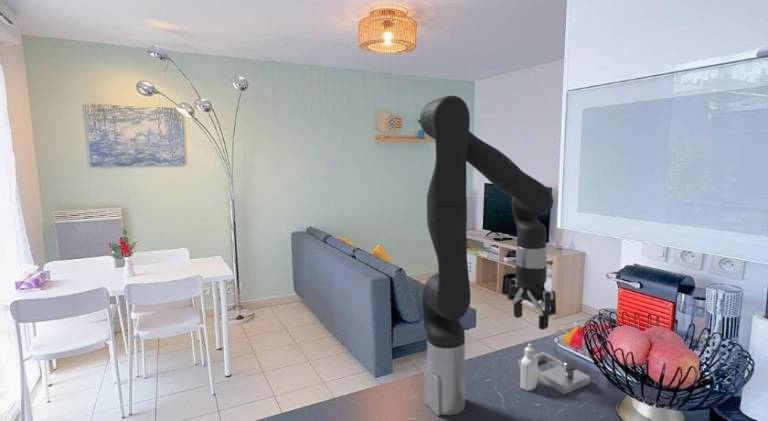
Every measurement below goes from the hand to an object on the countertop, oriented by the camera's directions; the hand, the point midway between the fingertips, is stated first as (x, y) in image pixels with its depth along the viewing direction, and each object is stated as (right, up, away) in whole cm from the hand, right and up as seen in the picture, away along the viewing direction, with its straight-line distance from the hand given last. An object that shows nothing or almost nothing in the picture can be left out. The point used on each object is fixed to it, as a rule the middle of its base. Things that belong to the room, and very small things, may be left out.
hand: (530, 322), depth 107 cm
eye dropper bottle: (+1, -18, +3) cm, 18 cm away
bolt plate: (+9, -17, +8) cm, 21 cm away
